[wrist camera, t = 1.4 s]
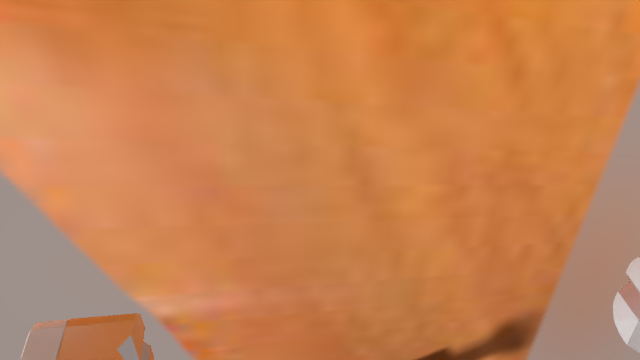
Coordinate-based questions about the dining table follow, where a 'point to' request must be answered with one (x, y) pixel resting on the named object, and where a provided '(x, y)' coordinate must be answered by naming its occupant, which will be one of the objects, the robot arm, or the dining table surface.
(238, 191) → the dining table surface
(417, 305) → the dining table surface
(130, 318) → the robot arm
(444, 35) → the dining table surface
